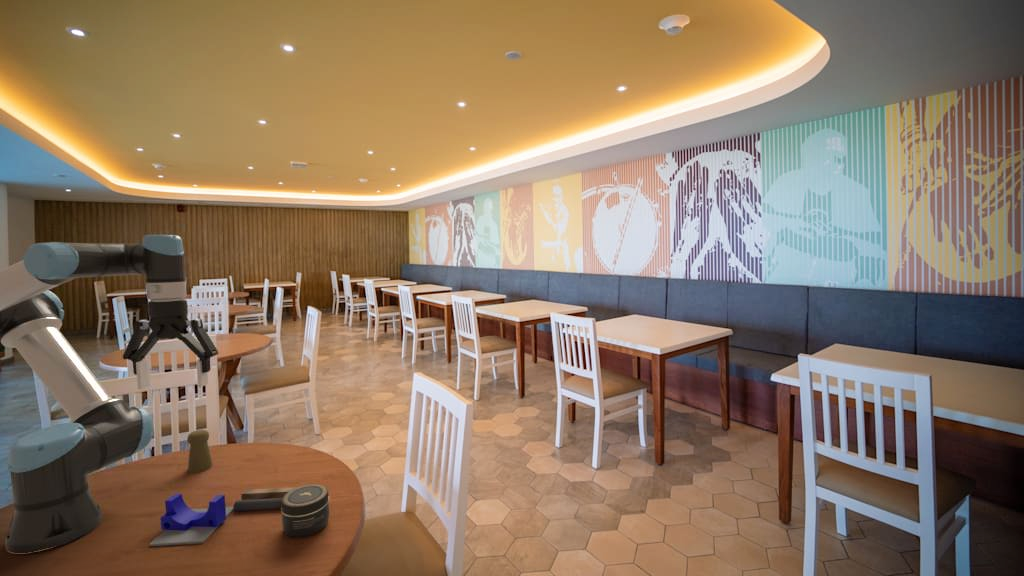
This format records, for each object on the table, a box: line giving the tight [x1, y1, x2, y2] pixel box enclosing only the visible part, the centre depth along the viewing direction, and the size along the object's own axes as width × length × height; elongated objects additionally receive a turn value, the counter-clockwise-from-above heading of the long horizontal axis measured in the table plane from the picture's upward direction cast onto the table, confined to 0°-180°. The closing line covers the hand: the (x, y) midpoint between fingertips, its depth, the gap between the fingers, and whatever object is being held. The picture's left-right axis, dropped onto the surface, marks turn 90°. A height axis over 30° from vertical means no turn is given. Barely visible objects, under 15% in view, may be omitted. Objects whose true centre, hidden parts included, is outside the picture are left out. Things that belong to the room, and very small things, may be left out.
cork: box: [187, 429, 213, 474], centre depth 130 cm, size 6×6×11 cm
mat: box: [148, 506, 234, 547], centre depth 102 cm, size 11×13×1 cm
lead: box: [233, 498, 282, 512], centre depth 109 cm, size 14×2×2 cm
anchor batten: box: [240, 486, 298, 500], centre depth 113 cm, size 14×2×2 cm, turn 95°
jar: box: [280, 483, 330, 539], centre depth 102 cm, size 10×10×8 cm
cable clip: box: [160, 493, 227, 531], centre depth 102 cm, size 12×4×6 cm, turn 87°
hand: (173, 386), depth 107 cm, fingers open, 13 cm apart
